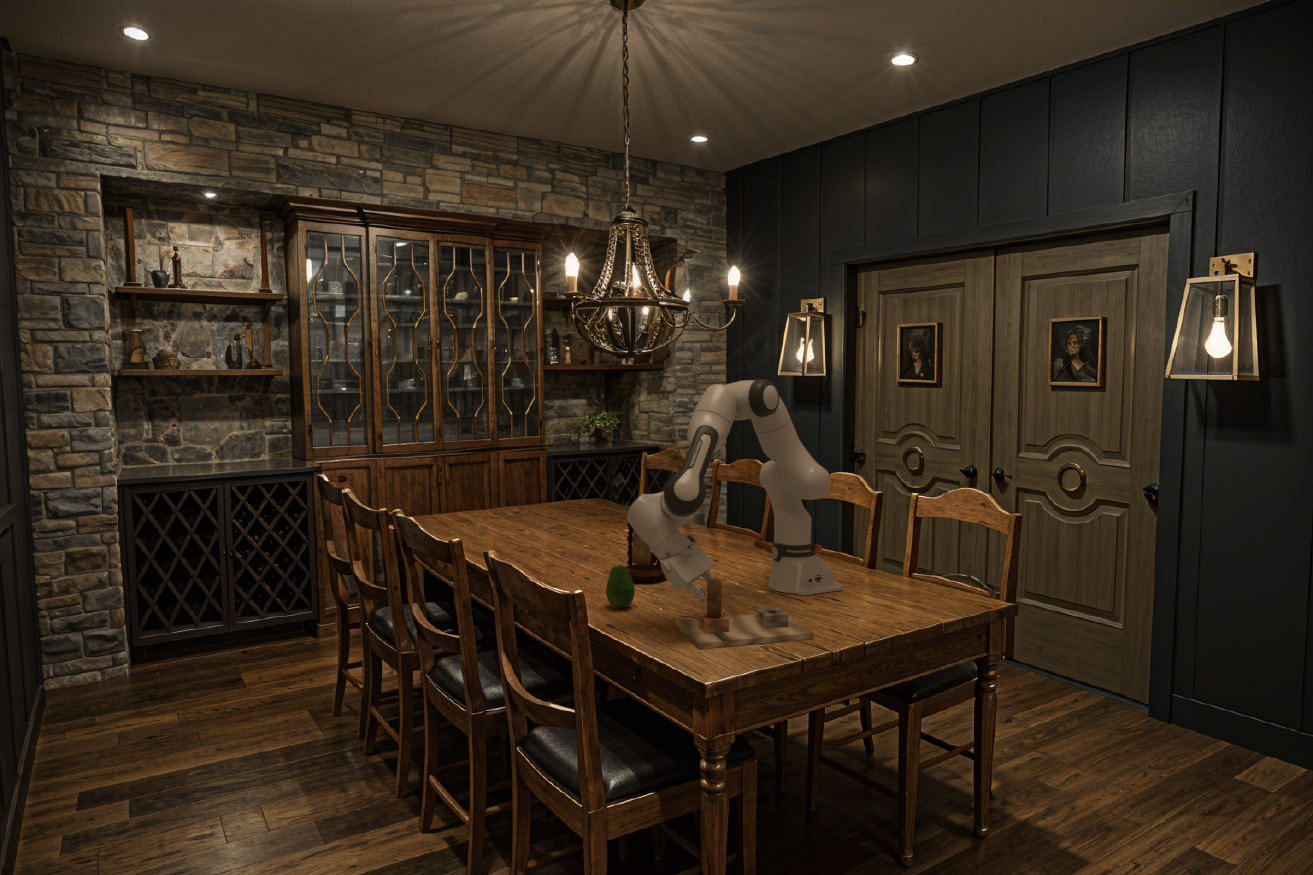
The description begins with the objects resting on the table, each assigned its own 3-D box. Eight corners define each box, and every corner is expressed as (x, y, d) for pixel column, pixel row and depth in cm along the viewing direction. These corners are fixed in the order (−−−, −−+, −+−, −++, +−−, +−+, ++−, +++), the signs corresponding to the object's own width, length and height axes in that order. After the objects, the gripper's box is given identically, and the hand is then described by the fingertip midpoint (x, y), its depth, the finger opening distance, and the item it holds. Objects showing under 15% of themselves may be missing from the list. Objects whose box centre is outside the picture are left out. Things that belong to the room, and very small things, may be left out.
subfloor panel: (781, 617, 214) (782, 600, 214) (813, 638, 197) (814, 620, 196) (675, 625, 205) (675, 608, 205) (698, 649, 188) (699, 629, 188)
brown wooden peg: (717, 625, 201) (718, 578, 200) (723, 629, 197) (724, 582, 197) (704, 626, 200) (705, 579, 199) (709, 630, 196) (710, 583, 196)
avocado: (609, 602, 225) (609, 561, 224) (636, 604, 224) (637, 562, 223) (602, 611, 217) (603, 567, 216) (631, 612, 216) (631, 569, 215)
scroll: (614, 582, 248) (614, 518, 246) (629, 571, 262) (630, 511, 260) (659, 586, 243) (660, 521, 242) (672, 575, 258) (673, 514, 256)
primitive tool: (792, 557, 288) (792, 547, 287) (780, 558, 285) (780, 549, 285) (760, 546, 304) (761, 537, 304) (749, 548, 302) (749, 539, 301)
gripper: (665, 550, 191) (703, 595, 188) (695, 535, 210) (730, 575, 207) (648, 566, 193) (685, 611, 190) (679, 550, 212) (714, 590, 209)
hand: (709, 592), depth 198 cm, fingers open, 8 cm apart
